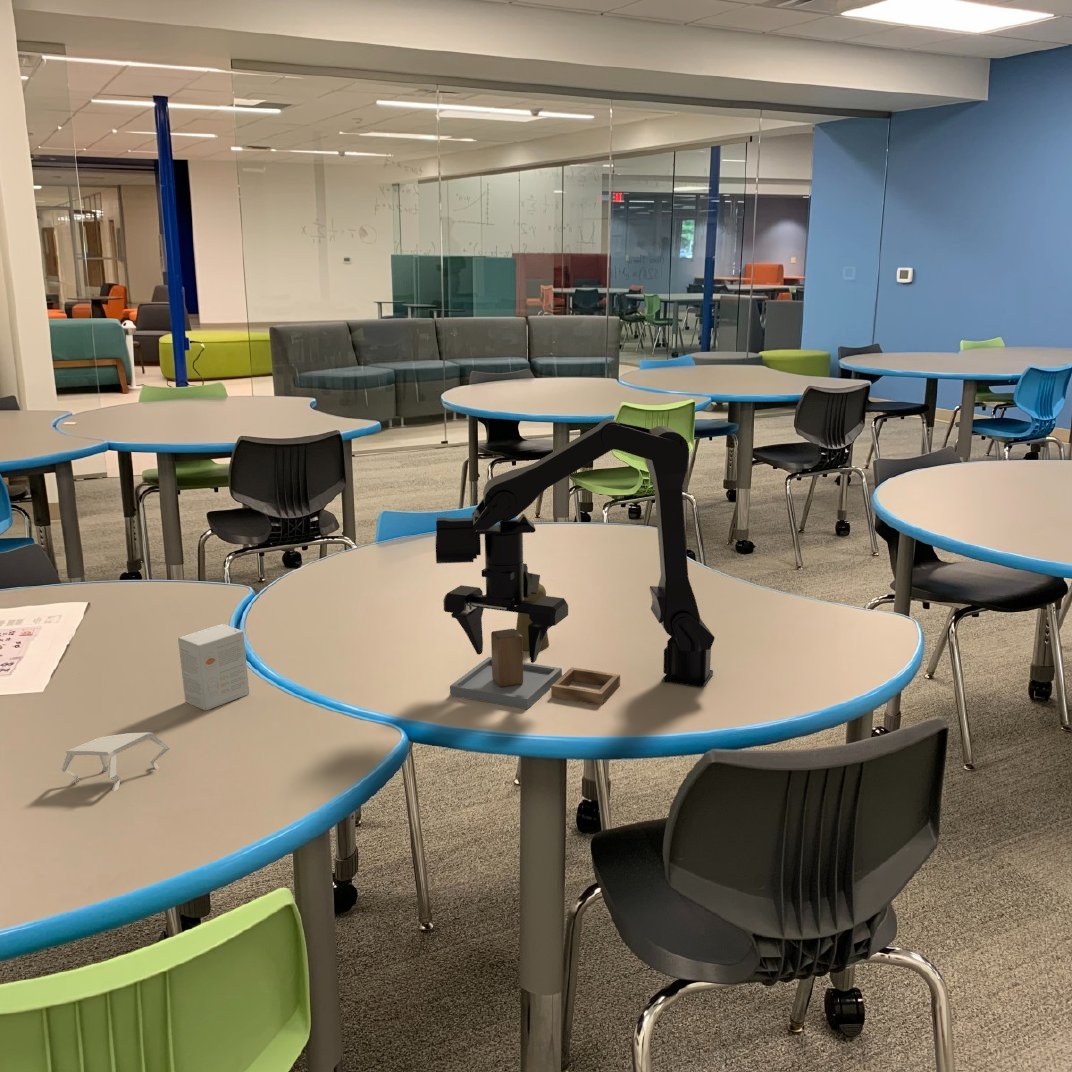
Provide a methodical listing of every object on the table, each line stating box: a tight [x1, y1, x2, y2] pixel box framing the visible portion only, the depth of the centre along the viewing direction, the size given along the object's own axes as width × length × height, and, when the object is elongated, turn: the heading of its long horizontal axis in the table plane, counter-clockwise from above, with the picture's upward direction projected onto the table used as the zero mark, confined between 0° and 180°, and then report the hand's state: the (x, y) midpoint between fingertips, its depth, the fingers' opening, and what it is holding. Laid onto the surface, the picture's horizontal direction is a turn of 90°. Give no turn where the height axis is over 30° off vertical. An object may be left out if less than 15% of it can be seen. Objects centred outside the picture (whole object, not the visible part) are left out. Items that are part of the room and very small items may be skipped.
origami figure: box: [61, 732, 171, 792], centre depth 130 cm, size 12×8×5 cm
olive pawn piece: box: [515, 583, 550, 652], centre depth 173 cm, size 6×6×11 cm
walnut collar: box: [550, 666, 621, 706], centre depth 155 cm, size 8×8×2 cm
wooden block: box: [490, 628, 524, 687], centre depth 156 cm, size 4×4×8 cm
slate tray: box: [449, 656, 563, 710], centre depth 157 cm, size 13×13×2 cm
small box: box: [177, 623, 250, 711], centre depth 153 cm, size 8×6×10 cm
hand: (506, 657), depth 156 cm, fingers open, 9 cm apart
